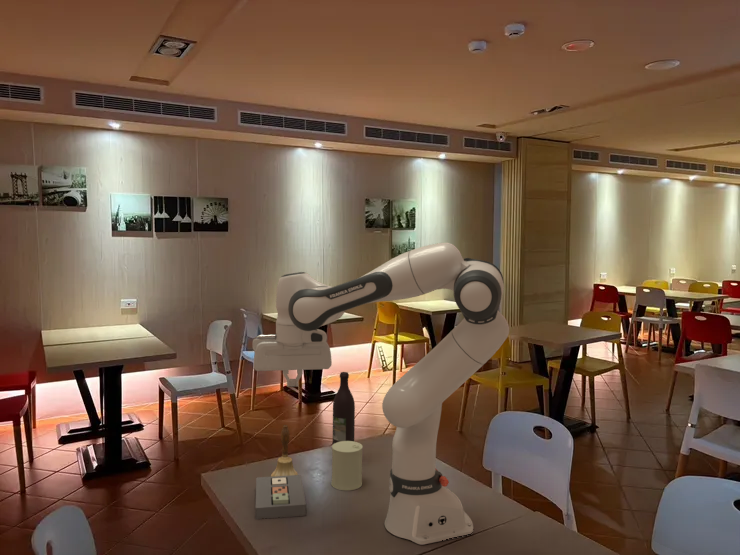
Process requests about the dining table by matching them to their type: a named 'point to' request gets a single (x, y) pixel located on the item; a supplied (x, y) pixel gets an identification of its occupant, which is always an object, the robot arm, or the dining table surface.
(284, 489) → the button three
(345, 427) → the wine bottle
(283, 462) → the hand bell
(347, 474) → the can
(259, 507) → the button panel
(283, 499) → the button two
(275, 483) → the button one
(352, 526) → the dining table surface
